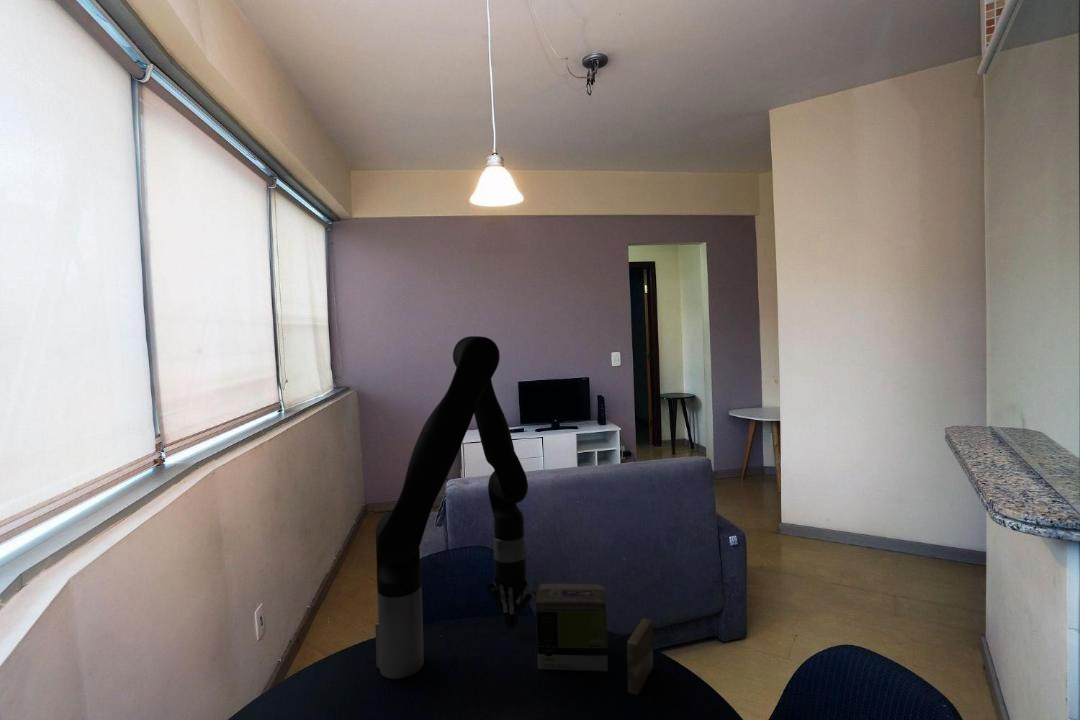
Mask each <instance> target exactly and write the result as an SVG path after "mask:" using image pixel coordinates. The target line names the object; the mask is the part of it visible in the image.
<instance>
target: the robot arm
mask: <svg viewBox="0 0 1080 720" xmlns="http://www.w3.org/2000/svg"><path fill="white" fill-rule="evenodd" d="M500 359H501V358H500V350H499V347H498V345H497V343H496V342H494V340H493V339H491V338H489V337H486V336H480V335H477V336H476V335H475V336H473V335H469V336H465V337H463V338H461V339H460V340H459V341H458V342H457V343H456V344H455V346H454V348H453V351H452V360H453V364H454V365H455V367H456V369H455V371H454V373H453V376H452V380H451V382H450V384H449V387H448V389H447V390H446V393H445V394H444V396H442V399H441V400H440V401H439V402H438V404H436V405H437V406H435V408H434V409H433V410H432V412H431V413H430V415H429V416H428V418H427V419H426V421H425V422H424V424H423V427H422V429H421V431H420V433H419V435H418V438H417V440H416V442H415V444H414V447H413V450H412V452H411V455H410V456H411V457H410V459H409V462H408V466H407V469H406V474H405V478H404V482H403V486H402V490H401V492H400V495H399V497H398V499H397V501H396V503H395V505H394V507H393V509H392V510H390V511H388V512H387V513H385V514H384V515H383V516H382V517H381V518H380V519H379V521H378V523H377V526H376V529H375V550H376V555H375V556H376V587H377V589H376V590H377V612H378V614H377V615H378V617H377V619H378V620H377V622H376V623H375V627H374V628H375V629H374V630H375V654H376V655H375V657H376V668H378V669H379V673H380V675H381V676H383V677H384V678H386V679H390V680H392V679H393V680H399V679H400V680H401V679H405V678H408V677H410V676H413V675H415V674H416V673H418V672H419V671H420V670H421V669H422V668H423V666H424V663H425V662H424V659H425V658H424V627H423V626H424V624H423V623H424V621H423V619H424V618H423V593H422V592H423V589H422V587H423V586H422V566H421V555H420V550H421V549H420V547H421V544H422V540H423V536H424V533H425V531H426V527H427V524H428V521H429V518H430V515H431V512H432V509H433V506H434V504H435V502H436V500H437V498H438V495H439V494H440V493H441V490H442V487H443V486H444V485H445V482H446V480H447V478H448V476H449V473H450V472H451V469H452V467H453V465H454V463H455V461H456V458H457V456H458V454H459V451H460V449H461V447H462V444H463V441H464V439H465V436H466V434H467V432H468V429H469V426H470V425H471V422H472V420H473V417H474V419H475V423H476V426H477V427H476V428H477V431H478V434H479V438H480V441H481V447H482V451H483V454H484V457H485V460H486V462H487V463H488V464H489V465H490V466H491V467H492V468H493V472H492V473H491V475H490V476H489V478H488V484H487V493H488V498H489V502H490V508H491V511H492V514H493V515H492V516H493V528H494V529H493V531H494V532H493V535H494V536H493V537H494V541H493V571H494V572H493V573H494V579H493V580H492V581H491V582H490V583H488V584H487V585H486V590H487V591H488V592H489V594H490V596H491V598H492V599H493V602H494V603H495V605H496V607H497V608H498V609H502V610H503V612H504V624H505V626H506V628H507V629H510V630H513V629H515V628H516V627H517V625H518V623H519V614H520V613H522V611H524V610H525V609H526V608H527V606H529V604H530V603H531V601H533V599H534V598H535V596H536V595H537V594H536V591H535V590H531V589H530V588H528V582H527V579H526V577H527V555H526V553H527V552H526V551H527V550H526V541H525V520H524V514H523V512H522V510H520V508H519V507H518V505H517V504H519V503H520V502H522V501H524V499H525V498H526V497H527V495H528V494H527V493H528V489H529V483H528V482H529V481H528V478H527V474H526V472H525V470H524V468H523V465H522V463H521V461H520V459H519V456H517V454H516V451H515V447H514V443H513V442H514V441H513V438H512V435H511V430H510V427H509V424H508V421H507V418H506V416H505V414H504V412H503V410H502V406H501V404H500V402H499V400H498V398H497V395H496V393H495V388H494V386H493V382H492V378H493V376H494V374H495V373H496V370H497V368H498V367H499V364H500ZM521 597H522V599H523V600H522V601H521ZM520 601H521V602H520Z"/></svg>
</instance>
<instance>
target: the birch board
mask: <svg viewBox="0 0 1080 720" xmlns="http://www.w3.org/2000/svg"><path fill="white" fill-rule="evenodd" d="M653 639H654V638H653V620H652V619H647V618H642V619H641V620H640V622H639V624H638V625H637V626H636V628H635V629H634V631H633V632H632V634H631V635H630V637H629V638H628V640H627V641H626V660H627V661H626V663H627V665H626V666H627V692H628V693H629V694H631V695H634V696H639V694H640V692H641V690H642V689H643V686H644V685H645V683H646V681H647V679H648V677H649V675H650V673H651V672H652V670H653V668H654V646H653V645H654V644H653V643H654V641H653Z"/></svg>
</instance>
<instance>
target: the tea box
mask: <svg viewBox="0 0 1080 720" xmlns="http://www.w3.org/2000/svg"><path fill="white" fill-rule="evenodd" d="M536 595H537V596H536V601H535V620H536V621H535V622H536V624H535V625H536V647H537V648H536V650H537V651H536V652H537V669H538V670H549V671H553V670H554V671H580V672H581V671H584V672H585V671H586V672H608V671H609V659H608V655H609V654H608V652H609V651H608V633H607V632H608V631H607V629H608V628H607V626H608V624H607V606H606V605H607V604H606V593H605V583H603V582H543V581H542V582H540V583H539V586H538V591H537V594H536Z"/></svg>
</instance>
